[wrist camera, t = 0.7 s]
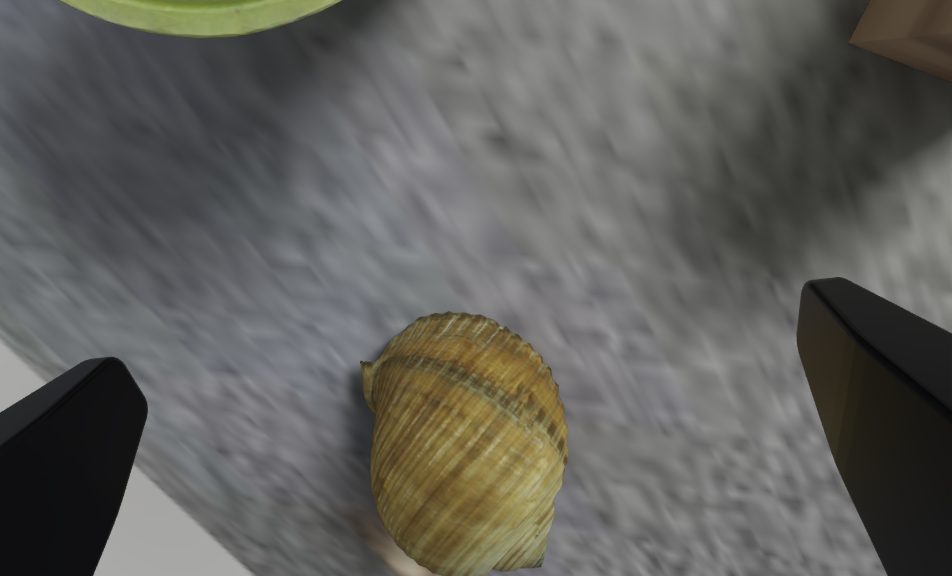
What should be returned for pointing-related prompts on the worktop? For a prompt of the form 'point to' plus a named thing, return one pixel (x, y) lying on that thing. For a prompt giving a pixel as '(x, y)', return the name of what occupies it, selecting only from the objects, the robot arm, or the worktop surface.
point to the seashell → (465, 445)
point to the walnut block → (909, 33)
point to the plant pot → (201, 15)
